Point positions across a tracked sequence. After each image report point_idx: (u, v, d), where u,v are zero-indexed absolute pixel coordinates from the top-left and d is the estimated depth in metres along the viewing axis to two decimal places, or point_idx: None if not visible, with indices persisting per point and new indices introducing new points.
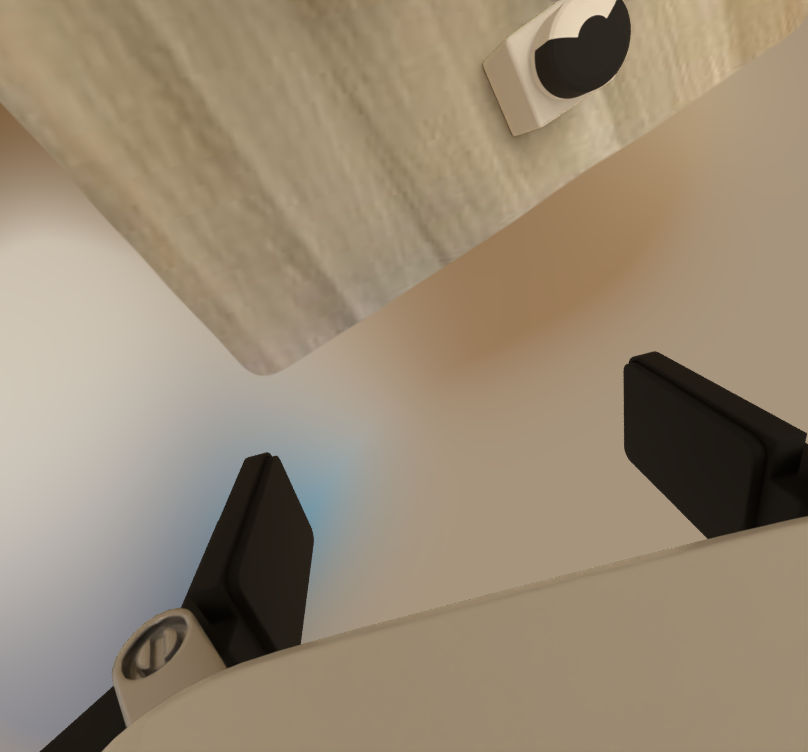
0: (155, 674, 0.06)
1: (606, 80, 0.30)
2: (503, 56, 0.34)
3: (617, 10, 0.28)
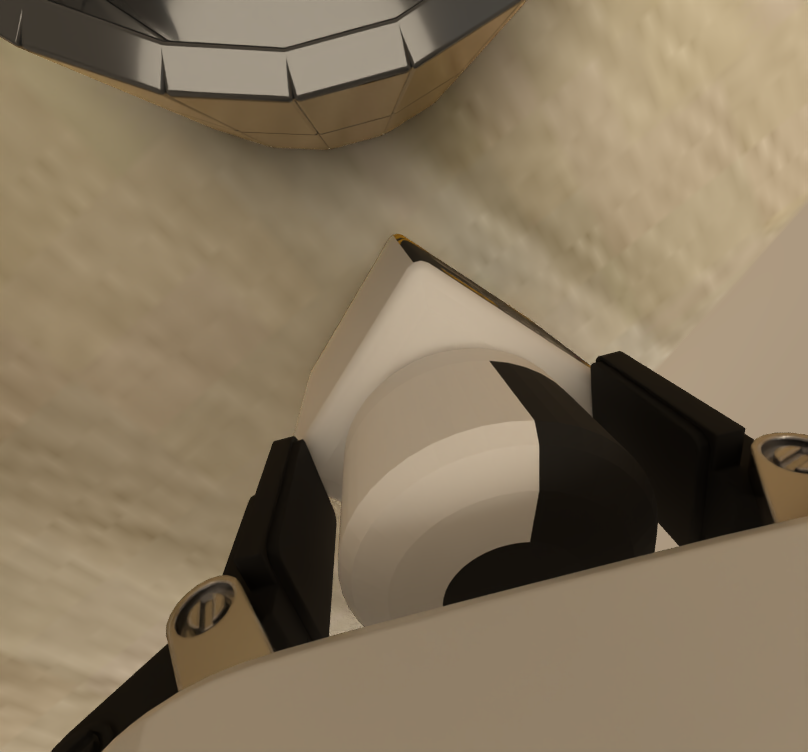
0: (203, 635, 0.06)
1: None
2: None
3: (562, 498, 0.06)
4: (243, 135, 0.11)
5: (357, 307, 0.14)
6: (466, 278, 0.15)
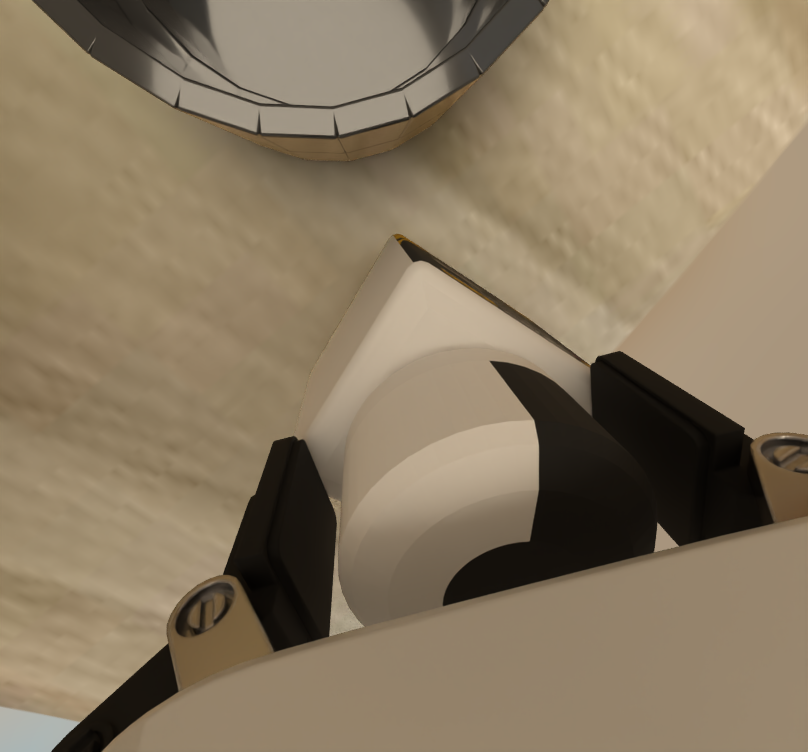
0: (203, 635, 0.06)
1: None
2: None
3: (560, 498, 0.06)
4: (288, 152, 0.15)
5: (357, 307, 0.14)
6: (466, 278, 0.16)
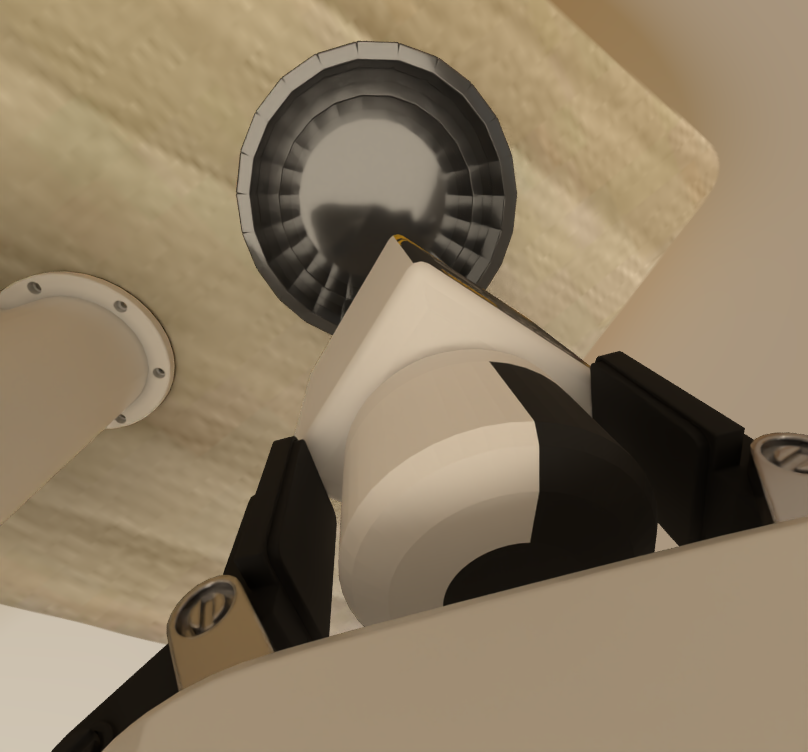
0: (202, 635, 0.06)
1: None
2: None
3: (560, 499, 0.06)
4: None
5: (357, 307, 0.14)
6: (466, 278, 0.16)
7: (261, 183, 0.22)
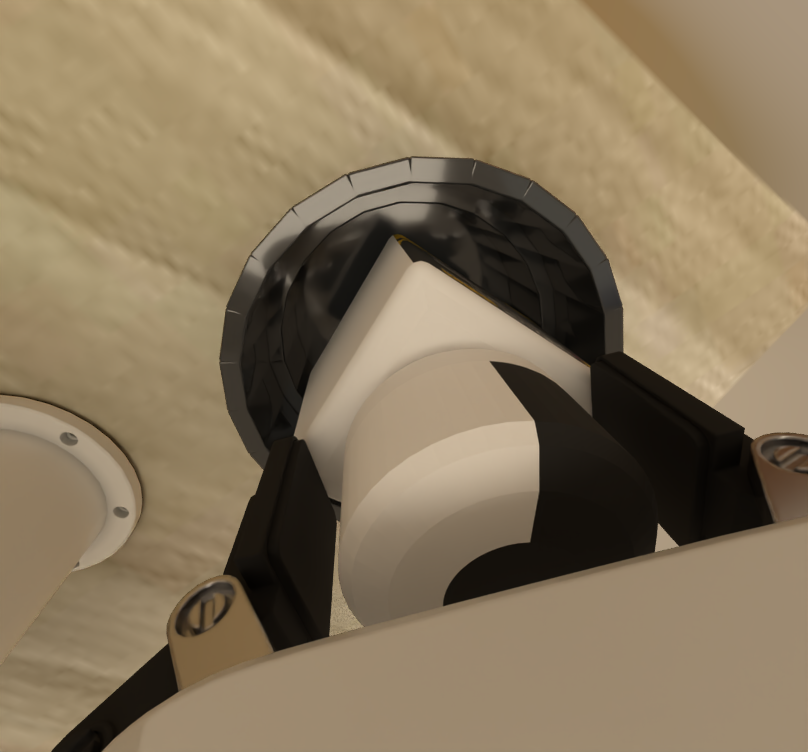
0: (203, 635, 0.06)
1: None
2: None
3: (561, 499, 0.06)
4: None
5: (357, 307, 0.14)
6: (466, 278, 0.15)
7: (257, 327, 0.16)
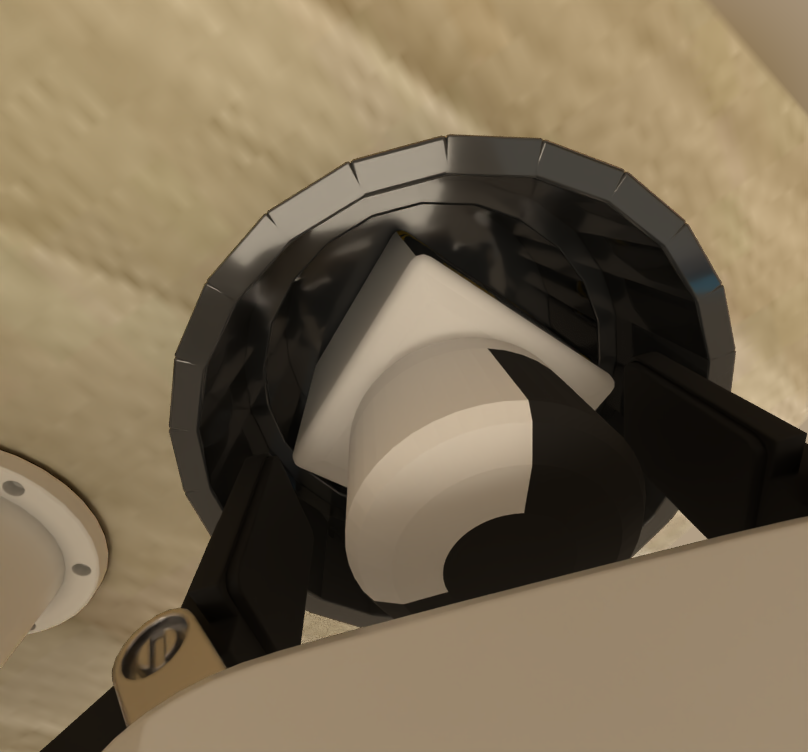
0: (154, 674, 0.06)
1: None
2: None
3: (553, 472, 0.07)
4: None
5: (362, 301, 0.15)
6: (467, 273, 0.16)
7: (228, 372, 0.12)
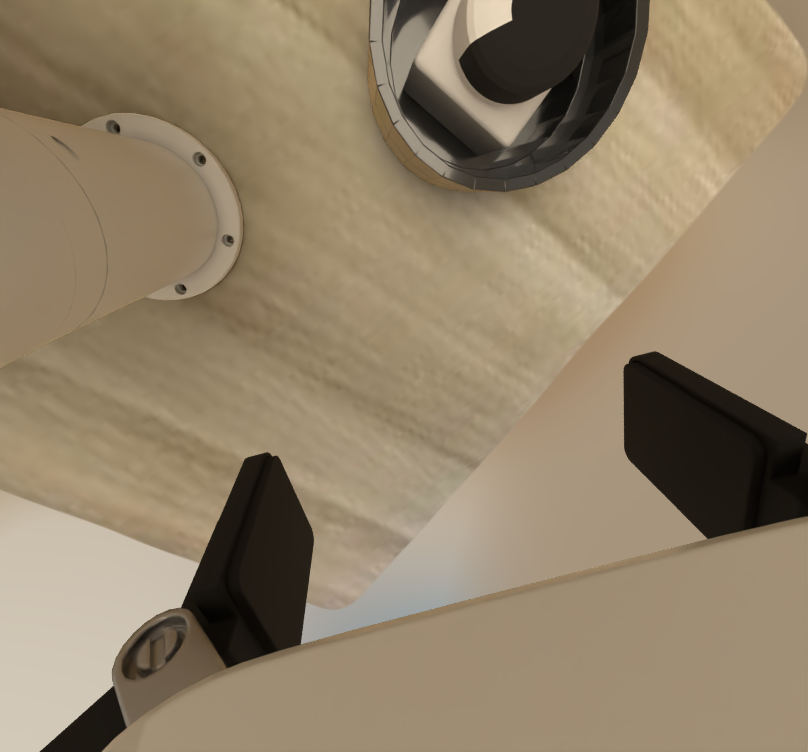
0: (155, 674, 0.06)
1: (581, 55, 0.19)
2: (421, 79, 0.24)
3: None
4: (451, 188, 0.29)
5: None
6: None
7: (386, 1, 0.22)
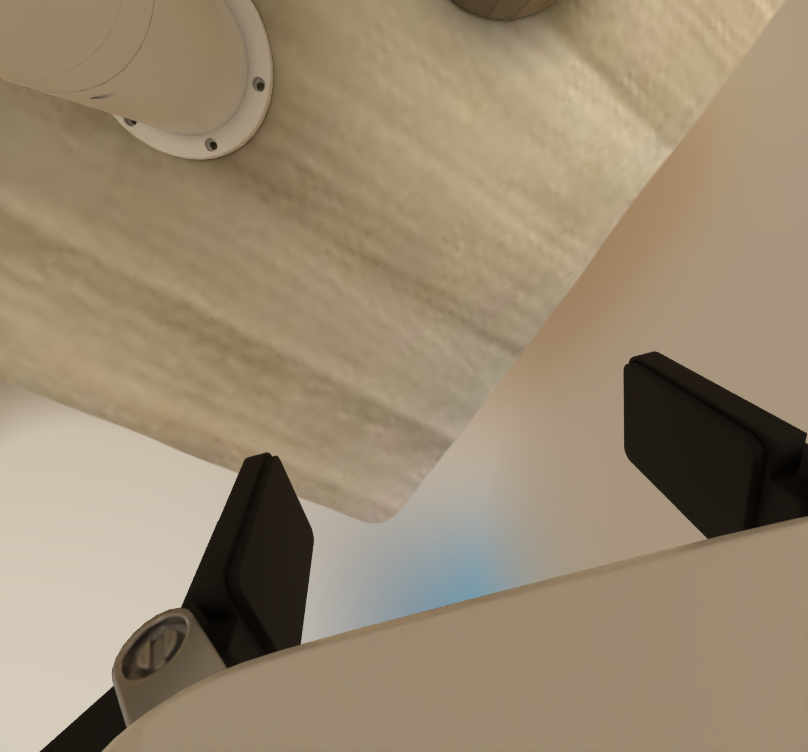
0: (155, 674, 0.06)
1: None
2: None
3: None
4: None
5: None
6: None
7: None
